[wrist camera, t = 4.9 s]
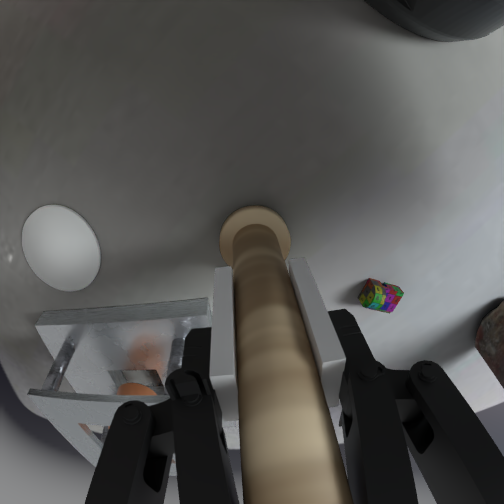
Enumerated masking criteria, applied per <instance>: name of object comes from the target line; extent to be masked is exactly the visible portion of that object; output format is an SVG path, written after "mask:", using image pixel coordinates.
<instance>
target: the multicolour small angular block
mask: <svg viewBox="0 0 504 504" xmlns="http://www.w3.org/2000/svg"><path fill="white" fill-rule="evenodd" d="M403 294H404V292H403V291H402V290H401V289H400V287H398V286H395V285H392V284H388V283H385V282H384V286H383V285H382V284H381V282H380V281H378V280H374V279H371V278H369V279H368V281H367V283H366V285H365V286H364V288H363V290H362V292H361V293H360V295H359V297H358V299H359V301H360V302H361V304H362V306H363V307H365V308H369V309H373V310H377V311H381V312H386V313H390V312H393V310H394V309H395V307H396V306H397V304H398V302H399V301H400V299H401V298H402V296H403Z"/></svg>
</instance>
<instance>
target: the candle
mask: <svg viewBox="0 0 504 504" xmlns="http://www.w3.org/2000/svg"><path fill="white" fill-rule="evenodd" d="M475 347H476V349H477V350H478V352H479V353H480V355H481V356H482V357H483V359H484V360H485V362H486V363H487V365H488V366H489V368H490V369H491V371H492V372H493V373H494V375H495V376H496V378H497V379H498V381H499V382H500V384H501V385H502V387H503V388H504V301H503V302H502V303H501V304H500V305H499V307H497V308H496V309H495V310H491V311H490V312H489V314H488V315H486V316H485V317H484V318H483V320H482V322H481V325H480V326H479V328H478V331H477V336H476V339H475Z"/></svg>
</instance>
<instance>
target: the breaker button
mask: <svg viewBox="0 0 504 504" xmlns="http://www.w3.org/2000/svg"><path fill="white" fill-rule="evenodd" d="M117 395H157V394H156V393H155V392H154V391H153V390H151V389H150V388H148V387H146V386H144V385H141V384H137V383H125V384H122V385H121V386H120V387H119V388H118V391H117ZM109 428H110V426H109V427H108V429H109Z"/></svg>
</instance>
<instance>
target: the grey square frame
mask: <svg viewBox="0 0 504 504" xmlns="http://www.w3.org/2000/svg"><path fill="white" fill-rule="evenodd" d="M35 327H36V329H37V331H38V333H39V335H40V336H41V338H42V340H43V342H44V343H45V345H46V347H47V348H48V350H49V352H50V353H51V355H52V357H53V358H54V360H55V361H54V363H53V365H52V367H51V369H50V371H49V374H48V376H47V378H46V380H45V382H44V384H43V387H42V389H41V390H38V389H29V392H28V394H27V395H28V396H29V397H30V399H31V400H32V401H33V402H34V404H35V405H36V406H37V407H38V408H39V410H40V411H41V412H42V413H43V414H44V415H45V417H46V418H47V419H48V420H49V421H50V422H51V423H52V424H53V425H54V427H55V428H56V429H57V430H58V431H59V432H60V433H61V434H62V435H63V436H64V437H65V438H66V439H67V440H68V441H69V442H70V443H71V444H72V445H73V446H74V447H75V448H76V449H77V450H78V451H79V452H80V453H81V454H82V455H83V456H84V457H85V458H86V459H87V460H88V461H89V462H90V463H91V464H93V465H94V466H95V467H96V466H97V463H98V460H99V457H100V454H101V451H102V448H103V445H104V442H105V439H106V436H107V433H108V430H109V429H108V427H109V426H110V425H111V422H112V419H113V417H114V414H115V412H116V410H117V409H118V407H119V406H121V405H122V404H123V403H125V402H128V401H133V400H138V401H141V402H144V403H145V404H146V405H148V406H150V405H154V404H157V403H161V402H163V401H166V400H168V399H169V398H170V396H169V394H168V392H167V390H166V388H165V386H146V387H148V388H150V389H151V390H153V391H154V392H155V393H156V394H157V395H117V391H118V388H119V387H120V386H121V385H122V384H125V383H128V382H127V381H126V379H125V377H124V375H123V373H122V372H121V370H154V369H156V370H157V372H158V375H159V377H160V379H161V381H162V383H163V385H165V381H166V378H167V377H168V376H169V374H170V373H172V372H173V371H175V370H176V369H180V368H181V365H182V358H183V350H184V343H185V337H186V336H187V334H188V333H189V332H190V330H191V329H194V328H205V327H212V315H211V310H210V306H209V301H208V298H202V299H193V300H183V301H173V302H163V303H152V304H141V305H130V306H117V307H105V308H91V309H76V310H60V311H44V312H43V313H42V315H41V316H40V318H39V320H38V321H37V323H36V324H35ZM64 375H65V377H66V378H67V380H68V381H69V383H70V384H71V386H72V387H73V389H74V390H75V392H76V393H68V392H57V391H58V389H59V386H60V384H61V382H62V379H63V377H64ZM86 424H91V425H101V426H102V427H104V429H103V433H102V437H101V441H100V440H99V439H98V438H97V437H96V436H95V435H94V434H93V432H92V431H91V430H90V429H89V428H88V427H87V425H86ZM222 427H223V428H226V427H236V421H224V420H223V417H222ZM169 476H177V472H176V461H175V454H173V458H172V463H171V468H170V473H169Z"/></svg>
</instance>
